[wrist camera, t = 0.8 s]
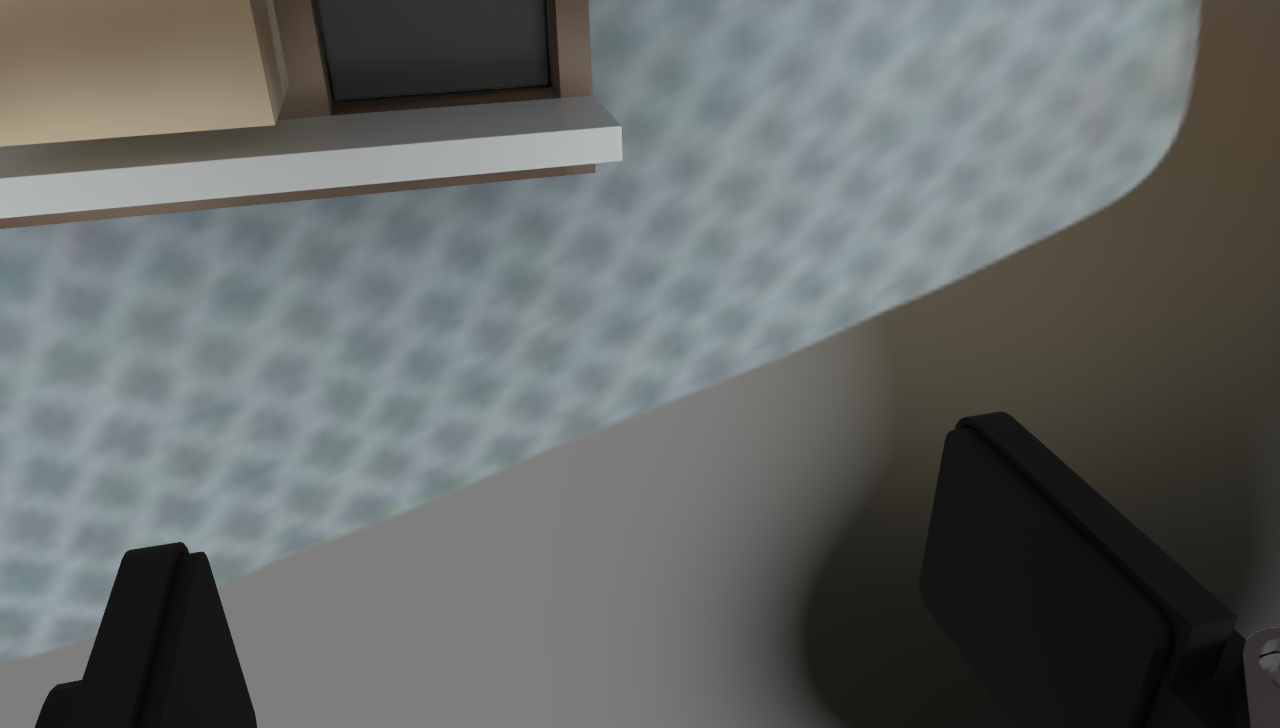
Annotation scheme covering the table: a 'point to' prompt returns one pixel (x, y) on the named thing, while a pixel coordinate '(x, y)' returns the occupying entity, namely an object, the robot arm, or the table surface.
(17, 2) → the maple block
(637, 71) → the table surface
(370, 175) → the channel board
